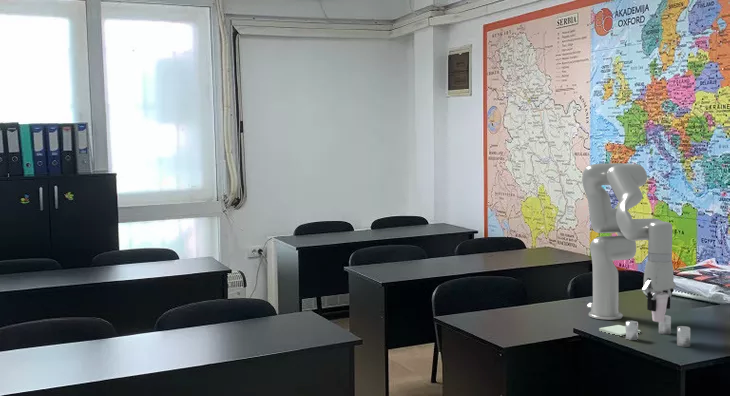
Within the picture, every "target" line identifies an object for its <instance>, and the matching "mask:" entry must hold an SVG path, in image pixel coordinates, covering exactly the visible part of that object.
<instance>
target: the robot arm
mask: <svg viewBox="0 0 730 396" xmlns="http://www.w3.org/2000/svg"><path fill="white" fill-rule="evenodd" d="M647 180H648V174H647V172H646V169H645V168H644V167H643V166H642V165H641V164H634V163H625V162H624V163H622V162H621V163H619V162H618V163H617V162H616V163H594V164H590V165H587V167H585V168H584V170H583V172H582V181H581V182H582V186H583V190H584V193H585V195H586V199H587V202H588V212H589V220H590V226H591V229H592V230H593V232H595V233H598V234H611V233H612V234H613V233H616V234H617V235H607V236H605V235H604V236H598V237H595V238H593V239H592V240H591V242H590V245H589V251H590V255H591V264H592V302H589V303H588V304H587V305H586V308H587V309H590V311H589V312H588V317H590V318H593V319H597V320H604V321H605V320H607V321H608V320H609V321H612V320H621V319H622V318H623V316H624V315H623V313H621V312H619V270H618V268H617V267H616V266H615V264H614V262H613V261H624V260H625V261H627V260H632V259H633V258H635V256H636V253H637V243H636V241H647V242H648V244H647V261H646V263H645V267H644V273H643V285H642V286H643V287H642V288H641V292H643V294H644V296H645V297H646V300H647V305H646V307H647V308H646V309H647V311H650V312H652V311H656V300H655V297H656V294H657V292H659V291H662V292H667V293H669V297H668V300H667V306H666V310H669V309H671V298H672V296H673V292H674V290H675V288H676V286H677V284H676V283H675V281H674V279H675V278H674V267H673V258H672V255H673V225H672V223H671V222H669V221H663V220H660V219H659V218H635V219H633V218H632V217H633V216H632V214H631V213H630V212H629V210H630V209H632V208H634V207H635V206H637V205H639V204H640V203H641V201H642V200H643V197H644V196H643V195H644V194H643V193H642V191H641V189H640V187H642V186H644V185H646V182H647ZM603 186H610V188H611V189H612V191H613V193H614V196H615V197H616V198H617V201H618V205H617V207H616V208H613V207H612V202H611V201H612V200H611V197H610V194H609V193H608V191H607V190H606V189H605V188H604V187H603ZM651 292H653V294H651Z"/></svg>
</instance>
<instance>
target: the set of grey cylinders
mask: <svg viewBox="0 0 730 396" xmlns="http://www.w3.org/2000/svg"><path fill="white" fill-rule="evenodd" d="M625 326H626V336H625V340H626V339H629V340H637V339H638V340H639V334H638V330H639V322H638V321H635V320H626V321H625ZM658 334H661V335H671V334H672V316H671V315H668V314H665V319H664V322H658ZM629 340H628V341H629ZM638 340H637V341H638ZM676 345H677V346H678V347H681V348H689V347H691V327H690V326H685V325H679V326H676Z"/></svg>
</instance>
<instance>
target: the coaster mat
mask: <svg viewBox="0 0 730 396" xmlns="http://www.w3.org/2000/svg"><path fill="white" fill-rule="evenodd" d="M601 331H602V332H601ZM598 332H601V333H604V332H606V333H605V334H608V333H610V334H609V335H612V334H615V335H620V336H622V335H626V325H621V324H615V325H611V326H604V327H599V328H598ZM640 332H642V331H641V329H638V333H639V334H641V333H640ZM615 335H614V336H615Z"/></svg>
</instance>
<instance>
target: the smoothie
mask: <svg viewBox="0 0 730 396" xmlns="http://www.w3.org/2000/svg"><path fill="white" fill-rule="evenodd" d="M651 294H653V292H651ZM668 297H669V293H667V292H662V291H659V292H657V294H656V297H655V300H656V311H651V318H652V321H653V322H656V323H659V322H664V319H665V315H666V312H667V309H666V306H667V300H668Z"/></svg>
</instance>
